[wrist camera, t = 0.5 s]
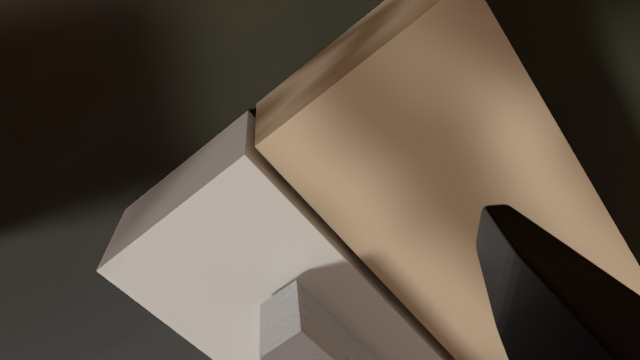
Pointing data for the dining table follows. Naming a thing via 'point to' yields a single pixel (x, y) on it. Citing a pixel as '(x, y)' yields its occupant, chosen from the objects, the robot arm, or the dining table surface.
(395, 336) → the jamb
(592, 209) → the stepped wooden block
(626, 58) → the dining table surface
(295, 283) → the bar
